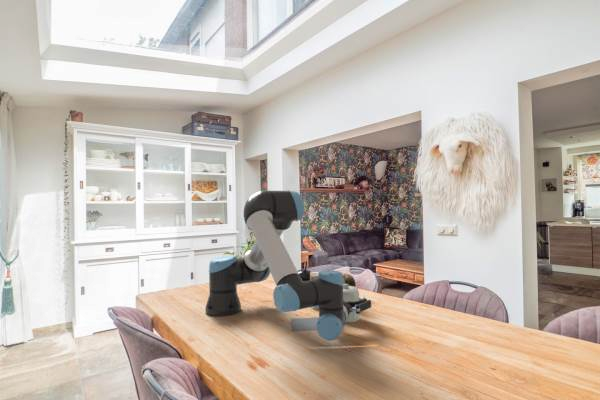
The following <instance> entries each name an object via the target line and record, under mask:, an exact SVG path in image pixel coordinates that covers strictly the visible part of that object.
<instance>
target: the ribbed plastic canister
mask: <svg viewBox="0 0 600 400" xmlns="http://www.w3.org/2000/svg"><path fill="white" fill-rule="evenodd" d="M359 300H360V291H359V288H358V287H357V286H356V287H354V286H349V284H343V301H345V302H348V301H351V302H354V301H359ZM360 315H361V312H360V313H359V314H356V312H355V311H352V312H350V314H349V316H348V319H347V321H346V323H355V322H358V321H359V320H361V319H360V318H361V316H360Z"/></svg>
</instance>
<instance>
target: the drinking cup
mask: <svg viewBox="0 0 600 400" xmlns="http://www.w3.org/2000/svg"><path fill="white" fill-rule="evenodd" d="M307 265H308V260H306V261H305V265H304V269H299V270H297V271H298V273H299V275H300V277H301V279H302V281H309V280H310V272H312V271H311V270H309V269H308V268H307V267H308V266H307Z"/></svg>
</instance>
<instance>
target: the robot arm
mask: <svg viewBox="0 0 600 400" xmlns="http://www.w3.org/2000/svg"><path fill="white" fill-rule="evenodd" d="M304 205H305V204H304V200H303V197H302V196H301V194H300V193H299V192H298V191H293V190H265V189H264V190H258V191H256V192H254V193H252V194H251V195H250V197H248V199H247V200H246V202H245V204H244V207H243V220H244V223H245V226H246V228H247V229H248V230H250V231H252V234H253V236H254V239H255V241H254V243H253V245H252V247H251V248H250V249H249V250H247V251H246V252H245V253H244V256H243V257H237V255H234V254H233V255H232V254H231V255H224V256H223V255H222V256H218V257H215V258H213V259H212V260H210V262H209V264H208V265H209V266H208V267H209V268H208V269H209V270H208V273H209V274H208V276H209V277H208V278H209V281H208V282H209V294H208V295H209V296H208V298H207V301H206V304H205V314H206V315H208V316H215V317H224V316H230V315H234V314H237V313H239V312H240V311H242V303H241V301H240V300H241V299H240V298H239V295H238V290H237V289H238V287H237V286H238V285H244V284H252V283H260V282H264V281H266V280H267V279H268V278H269V276H270V274H271V277H272V278H273V281H274V283H275V287H274V289H273V294H272V296H273V297H272V298H273V301H274V302H273V303H274V306H275V308H276V310H278V311H279V312H281V313H288V312H297V311H298V310H302V309H303V310H304V309H308V308H312V307H314V306H319V309H318V317H319V319H318V321H317V325H316V328H317V330H316V332H317V334H318V335H319V337H321V338H322V339H323V340H326V341H333V340H336V339H338V338H339V336H340V335H341V334H342V332H343V331H344V327H345V324H346V323H347V322H346V321H347V319H348V316H349V314H350V312H352V311H355V312H356V314H359V313H360V314H361V313H362V312H364V311H366V310H368V309H370V308H372V300H371V299H368V298H366V295H365V294H362V295H361V298H360V299H359V301H354V302H351V301H348V302H345V301H343V278H342V274H341V272H342V271H341V272H339V271H340V270H335V269H334V270H333V269H325V270H324V269H323V270H321V271H318V272H319V273H318V279H316V280H309V281H302V279H301V277H300V275H299V273H298V270H297V268H296V265H295V264H294V262H293V260H292V258H291V256H290V254H289V252H288V249H287V247H286V246H285V244H284V242H283V240H282V237H281V236H282V234H283V233H284V231H286V230H288V229H289V228H290V227H291V225H292V224H293V223H294V222H298V221H300V220H302V219H303V217H304V214H305V206H304Z"/></svg>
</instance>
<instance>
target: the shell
mask: <svg viewBox="0 0 600 400" xmlns="http://www.w3.org/2000/svg"><path fill="white" fill-rule="evenodd" d="M343 274H344V275H345V284H349V286H354V287H357V286H356V281H355V278H354V276H352V275H351V274H349V273H348V274H347V273H343Z"/></svg>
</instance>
